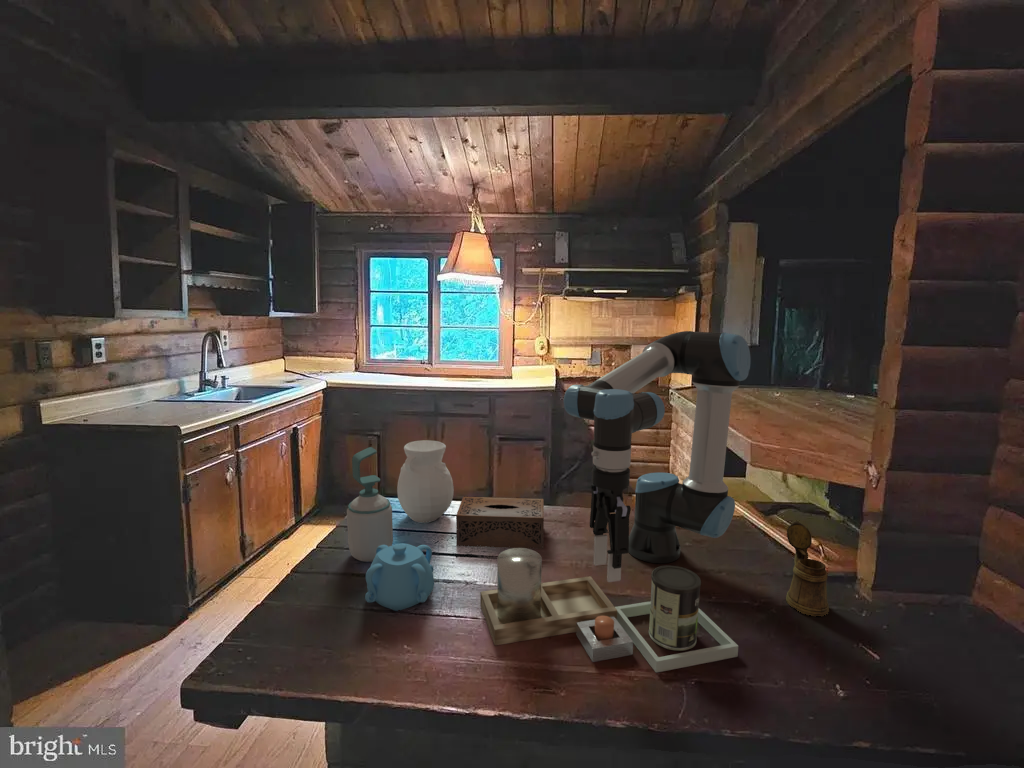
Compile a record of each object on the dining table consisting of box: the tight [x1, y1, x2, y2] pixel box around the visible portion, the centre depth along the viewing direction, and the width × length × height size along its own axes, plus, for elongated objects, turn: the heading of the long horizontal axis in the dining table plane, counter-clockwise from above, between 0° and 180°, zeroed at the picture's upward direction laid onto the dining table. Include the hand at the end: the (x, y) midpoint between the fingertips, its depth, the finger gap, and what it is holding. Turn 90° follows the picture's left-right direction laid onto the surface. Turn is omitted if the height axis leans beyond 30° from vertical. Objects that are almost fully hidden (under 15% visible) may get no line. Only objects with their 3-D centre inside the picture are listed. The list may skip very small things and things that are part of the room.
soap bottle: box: [346, 446, 394, 563], centre depth 149 cm, size 12×12×31 cm
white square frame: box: [614, 600, 739, 673], centre depth 116 cm, size 19×19×2 cm
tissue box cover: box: [455, 496, 545, 550], centre depth 163 cm, size 26×14×10 cm, turn 87°
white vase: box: [396, 439, 455, 524], centre depth 175 cm, size 19×18×25 cm
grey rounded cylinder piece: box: [496, 548, 543, 624], centre depth 120 cm, size 10×10×14 cm
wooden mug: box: [785, 520, 830, 617], centre depth 129 cm, size 9×14×18 cm, turn 179°
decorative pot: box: [364, 542, 435, 612], centre depth 129 cm, size 16×16×14 cm
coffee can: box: [648, 565, 702, 652], centre depth 115 cm, size 10×10×14 cm
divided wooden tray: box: [479, 575, 617, 646], centre depth 123 cm, size 28×15×4 cm, turn 105°
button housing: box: [575, 617, 634, 663], centre depth 113 cm, size 9×9×3 cm
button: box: [594, 616, 614, 641], centre depth 113 cm, size 4×4×4 cm
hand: (606, 571), depth 110 cm, fingers open, 6 cm apart
